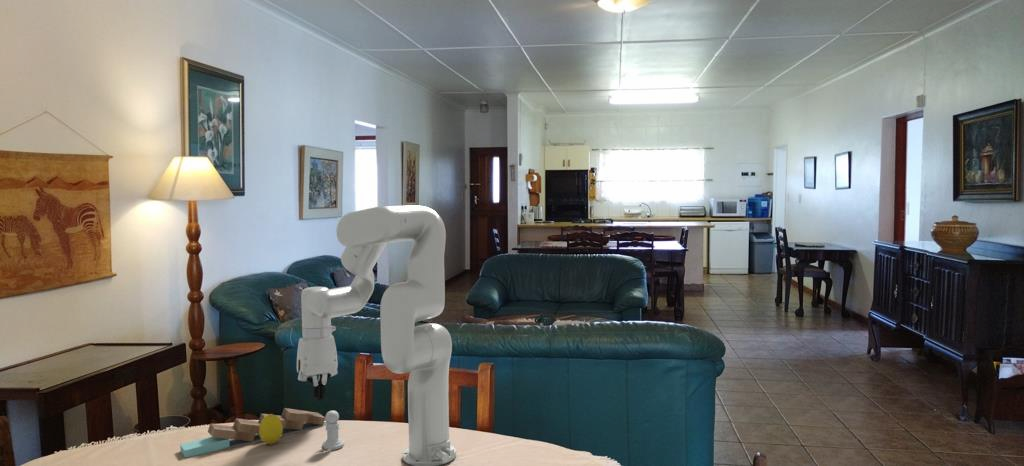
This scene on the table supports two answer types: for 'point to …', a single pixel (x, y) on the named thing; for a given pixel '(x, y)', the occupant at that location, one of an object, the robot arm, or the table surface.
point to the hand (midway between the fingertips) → (318, 398)
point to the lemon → (270, 429)
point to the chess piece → (332, 431)
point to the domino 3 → (286, 422)
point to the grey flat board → (285, 431)
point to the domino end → (203, 446)
